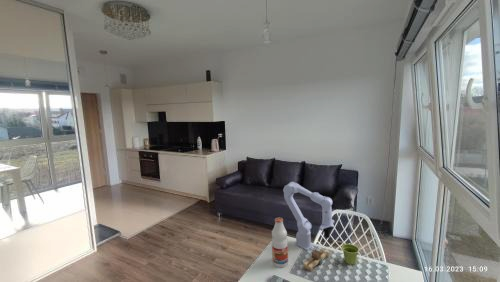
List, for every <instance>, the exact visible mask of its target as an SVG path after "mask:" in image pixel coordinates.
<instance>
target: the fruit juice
mask: <svg viewBox="0 0 500 282" xmlns="http://www.w3.org/2000/svg"><path fill="white" fill-rule="evenodd" d="M274 222H275V223H274V226H273V228H272V230H271V237H272V239H271V252H272V253H271V256H272V265H273V266H274V267H276V268H280V269H281V268H285V267H287V266H288V265H289V247H288V246H289V245H288V244H289V243H288V239H287V237H288V232H287V229H286V227H285V225H284V219H283V217H275V218H274Z"/></svg>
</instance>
